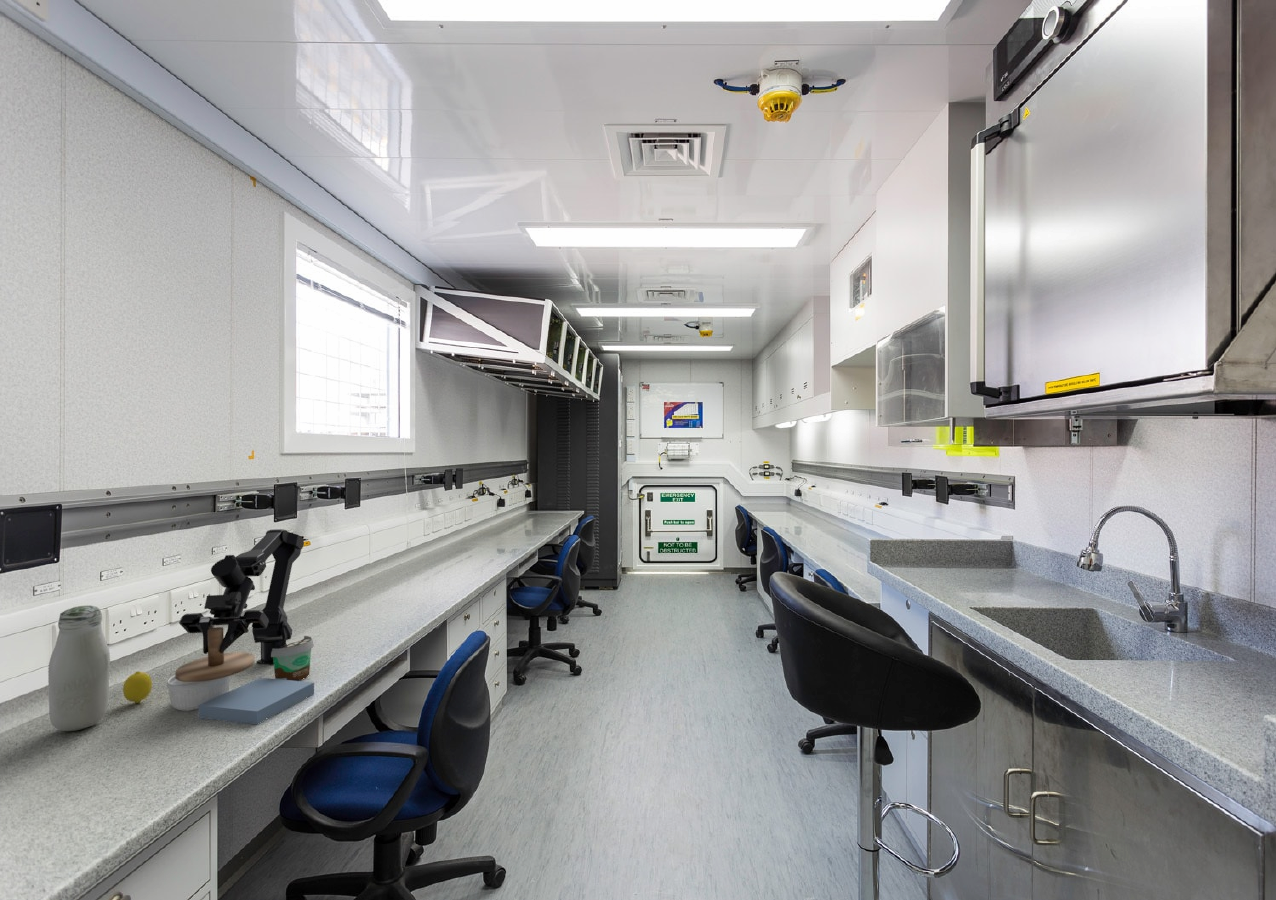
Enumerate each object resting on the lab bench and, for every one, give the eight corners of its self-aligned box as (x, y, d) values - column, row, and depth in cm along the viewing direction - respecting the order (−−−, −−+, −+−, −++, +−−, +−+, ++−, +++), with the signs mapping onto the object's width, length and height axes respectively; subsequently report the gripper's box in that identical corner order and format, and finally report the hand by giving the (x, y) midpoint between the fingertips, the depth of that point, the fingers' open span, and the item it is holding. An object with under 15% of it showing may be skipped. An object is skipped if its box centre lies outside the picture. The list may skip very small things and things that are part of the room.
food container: (290, 687, 154) (290, 650, 154) (271, 686, 155) (270, 649, 155) (324, 670, 166) (324, 636, 166) (306, 669, 167) (305, 634, 167)
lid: (161, 675, 140) (160, 634, 140) (231, 653, 155) (230, 616, 155) (198, 686, 133) (198, 643, 133) (268, 662, 148) (267, 624, 148)
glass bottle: (43, 742, 125) (41, 615, 126) (58, 724, 134) (57, 605, 134) (103, 730, 131) (102, 608, 131) (114, 713, 139) (113, 598, 139)
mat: (198, 717, 137) (198, 705, 137) (260, 688, 153) (260, 677, 153) (257, 724, 133) (257, 711, 133) (314, 693, 149) (314, 682, 149)
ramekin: (205, 713, 139) (205, 684, 139) (152, 713, 139) (152, 685, 139) (244, 690, 152) (244, 664, 152) (195, 690, 153) (195, 664, 153)
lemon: (157, 699, 147) (157, 668, 147) (132, 709, 142) (132, 676, 142) (143, 697, 149) (142, 666, 149) (117, 706, 144) (117, 674, 144)
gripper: (182, 582, 146) (154, 640, 135) (262, 579, 149) (241, 635, 139) (201, 604, 154) (176, 660, 143) (277, 600, 157) (258, 655, 146)
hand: (212, 652), depth 143 cm, fingers closed on lid, 3 cm apart
